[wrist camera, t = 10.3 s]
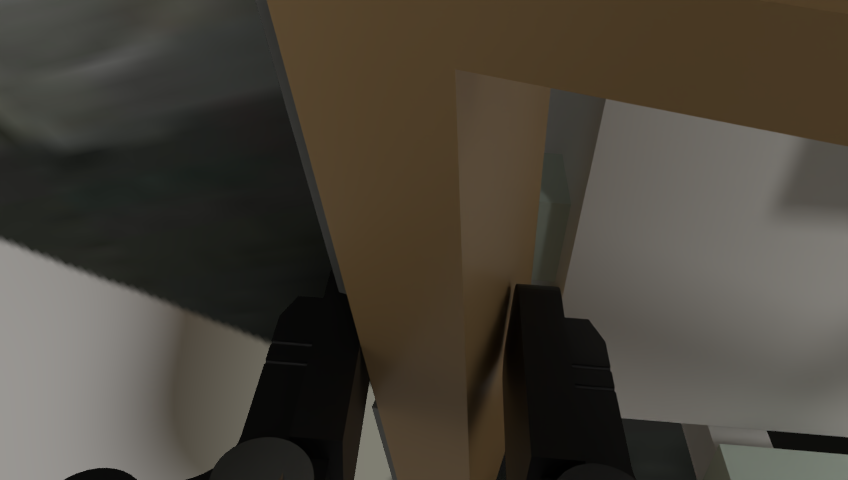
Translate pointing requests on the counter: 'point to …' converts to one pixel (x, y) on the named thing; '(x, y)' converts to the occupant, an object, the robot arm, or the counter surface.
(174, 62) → the counter surface
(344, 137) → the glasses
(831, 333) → the display stand
